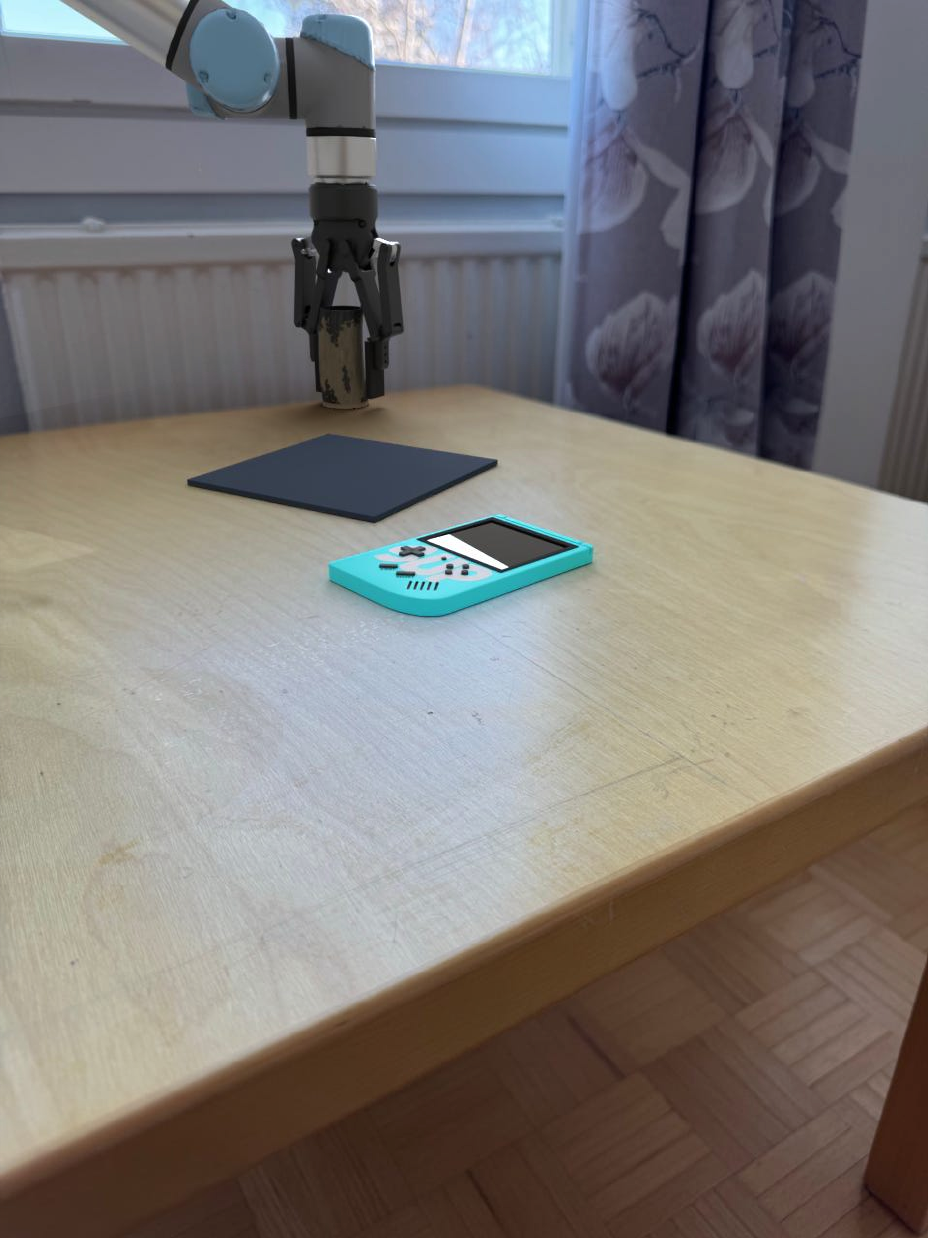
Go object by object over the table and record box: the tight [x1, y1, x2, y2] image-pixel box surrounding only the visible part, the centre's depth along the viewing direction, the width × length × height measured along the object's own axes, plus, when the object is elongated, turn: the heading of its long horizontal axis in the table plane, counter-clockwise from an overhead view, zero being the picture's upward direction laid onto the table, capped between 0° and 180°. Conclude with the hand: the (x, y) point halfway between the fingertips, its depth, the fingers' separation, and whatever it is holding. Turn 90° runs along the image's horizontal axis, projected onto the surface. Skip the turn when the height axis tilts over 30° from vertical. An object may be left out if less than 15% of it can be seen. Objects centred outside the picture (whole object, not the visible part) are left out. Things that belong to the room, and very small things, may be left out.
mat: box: [186, 433, 499, 523], centre depth 87 cm, size 20×20×1 cm
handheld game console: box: [328, 513, 594, 617], centre depth 66 cm, size 10×16×1 cm, turn 132°
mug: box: [318, 304, 370, 410], centre depth 113 cm, size 8×6×12 cm
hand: (350, 393), depth 115 cm, fingers open, 7 cm apart
